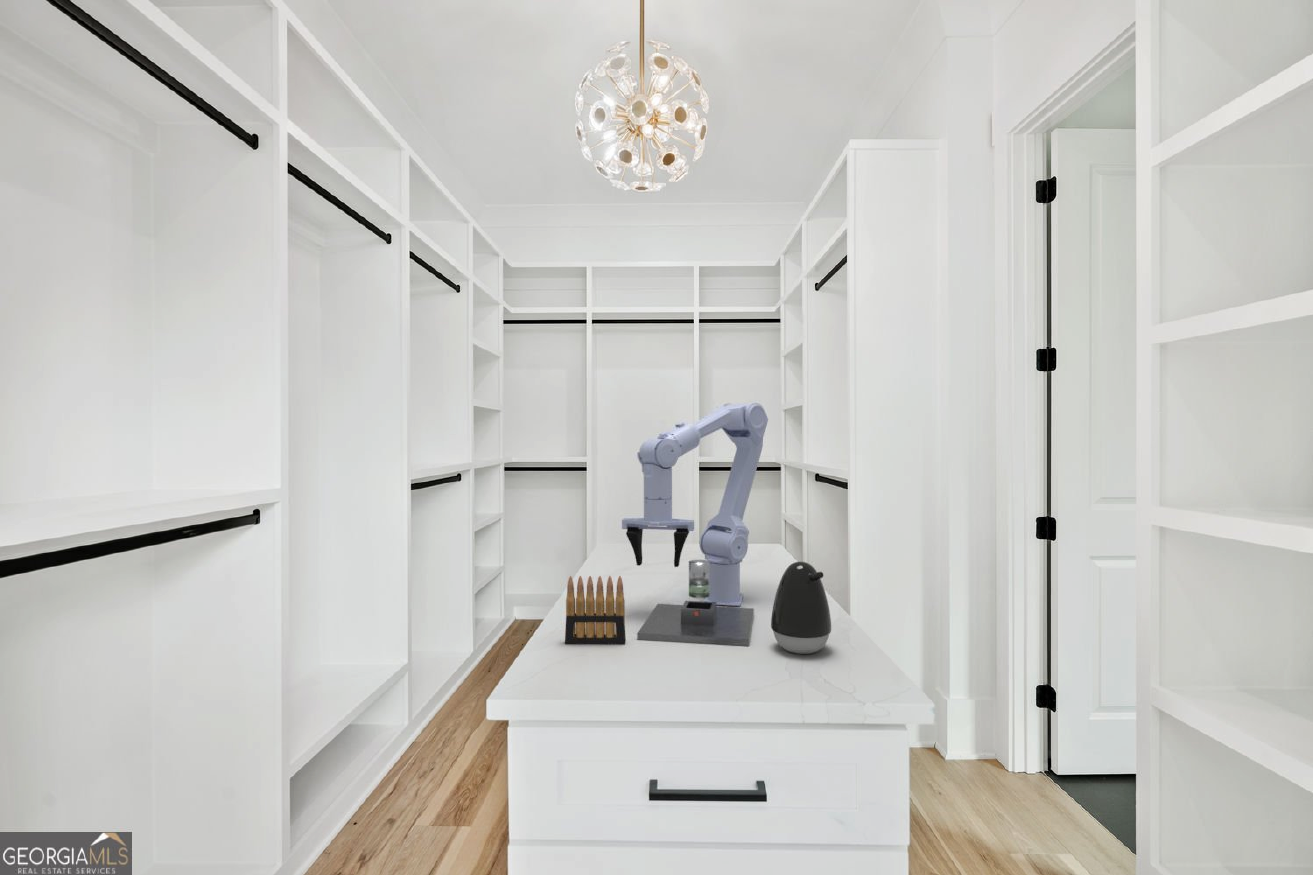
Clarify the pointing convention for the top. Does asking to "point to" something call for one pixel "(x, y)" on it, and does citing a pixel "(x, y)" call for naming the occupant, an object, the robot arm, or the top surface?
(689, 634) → the post base
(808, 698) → the top surface
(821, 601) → the pump dispenser
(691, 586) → the grey cylindrical jar
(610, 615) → the ammunition clip
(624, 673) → the top surface
